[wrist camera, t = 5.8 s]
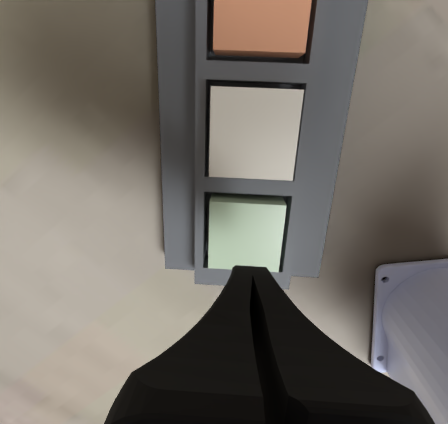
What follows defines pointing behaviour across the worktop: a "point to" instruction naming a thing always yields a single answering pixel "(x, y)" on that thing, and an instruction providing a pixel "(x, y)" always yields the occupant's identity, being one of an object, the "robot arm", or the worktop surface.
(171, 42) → the button panel
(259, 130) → the cream button
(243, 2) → the terracotta button
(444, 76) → the worktop surface
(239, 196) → the green button
